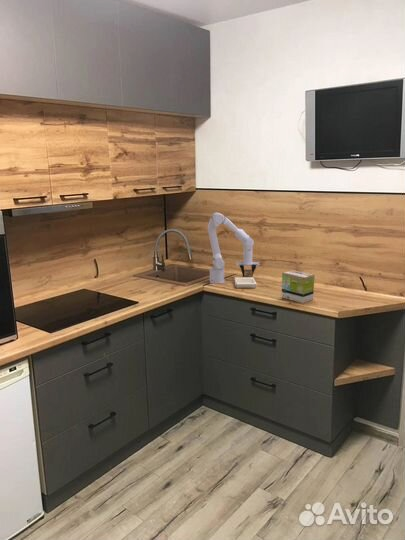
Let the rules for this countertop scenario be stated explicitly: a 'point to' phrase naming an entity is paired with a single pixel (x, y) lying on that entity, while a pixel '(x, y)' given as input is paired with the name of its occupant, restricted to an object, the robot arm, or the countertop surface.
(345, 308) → the countertop surface
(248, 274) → the walnut block
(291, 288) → the tea box
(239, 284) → the white tray
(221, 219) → the robot arm
